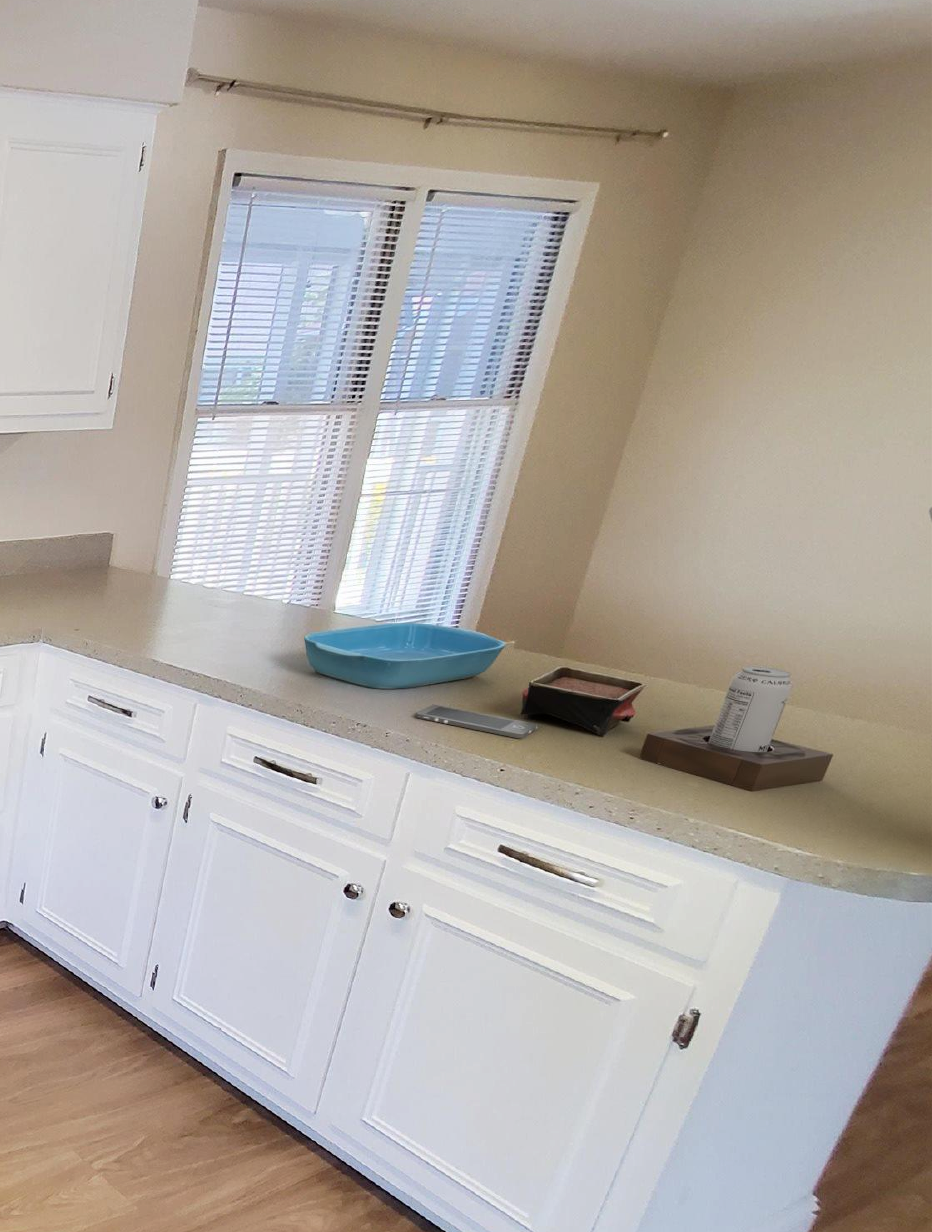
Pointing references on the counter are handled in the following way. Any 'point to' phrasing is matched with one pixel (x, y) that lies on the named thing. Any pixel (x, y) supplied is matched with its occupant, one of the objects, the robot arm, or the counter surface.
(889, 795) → the counter surface
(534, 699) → the dark brown bonsai pot
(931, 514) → the robot arm
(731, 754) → the holder
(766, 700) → the energy drink can
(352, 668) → the casserole dish
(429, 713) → the smartphone
